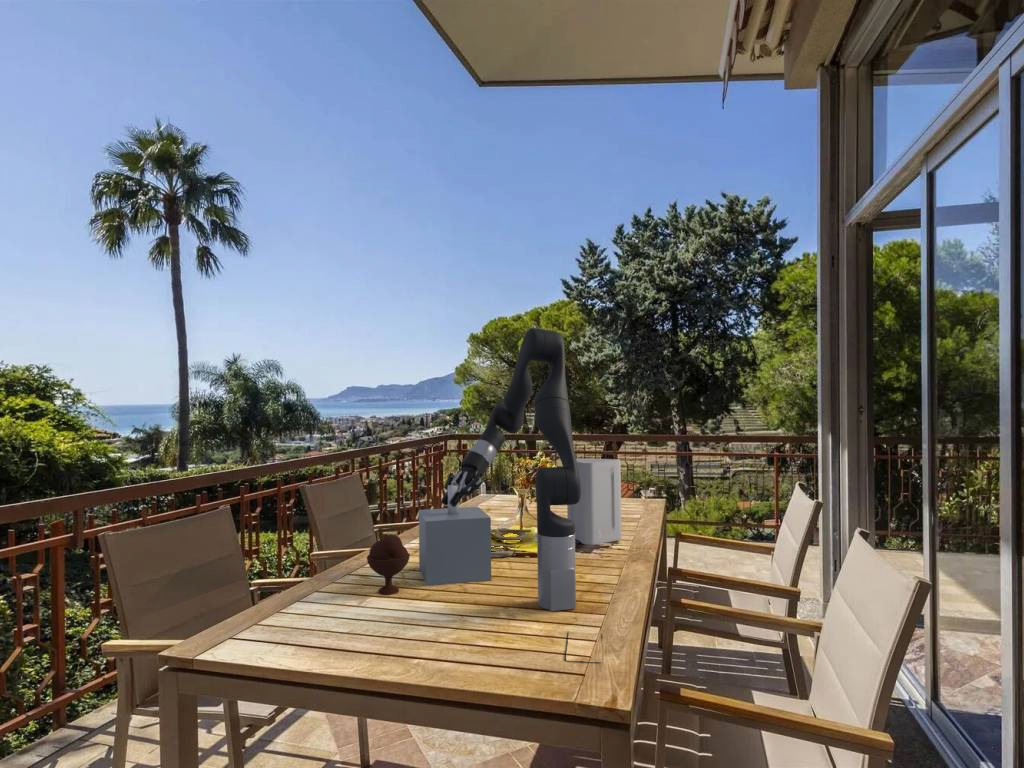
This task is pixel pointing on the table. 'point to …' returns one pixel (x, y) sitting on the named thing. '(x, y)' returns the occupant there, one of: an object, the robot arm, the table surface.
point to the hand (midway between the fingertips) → (447, 504)
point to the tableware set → (500, 536)
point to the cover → (454, 544)
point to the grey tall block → (598, 502)
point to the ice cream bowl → (388, 561)
